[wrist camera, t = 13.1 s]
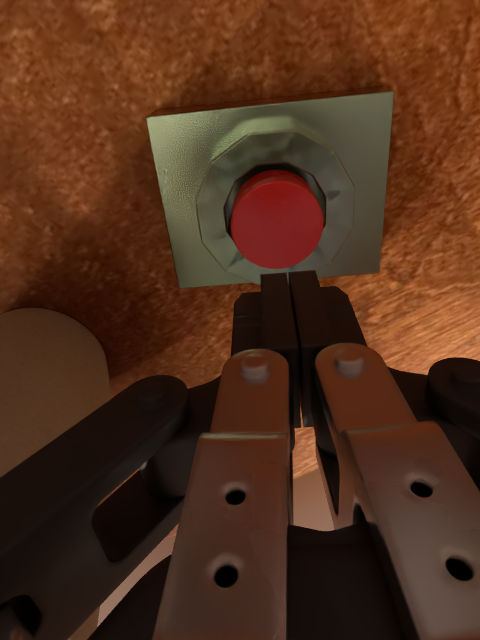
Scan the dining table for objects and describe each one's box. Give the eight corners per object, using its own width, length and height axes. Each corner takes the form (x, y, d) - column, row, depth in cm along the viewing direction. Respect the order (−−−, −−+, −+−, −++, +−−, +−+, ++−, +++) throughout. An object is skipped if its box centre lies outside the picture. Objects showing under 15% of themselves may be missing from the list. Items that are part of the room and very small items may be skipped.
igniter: (184, 269, 24) (173, 307, 20) (155, 109, 20) (135, 123, 16) (369, 254, 23) (389, 291, 20) (380, 85, 19) (409, 95, 16)
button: (236, 255, 19) (235, 273, 18) (227, 173, 17) (225, 185, 16) (317, 249, 19) (323, 266, 18) (317, 164, 17) (324, 176, 16)
